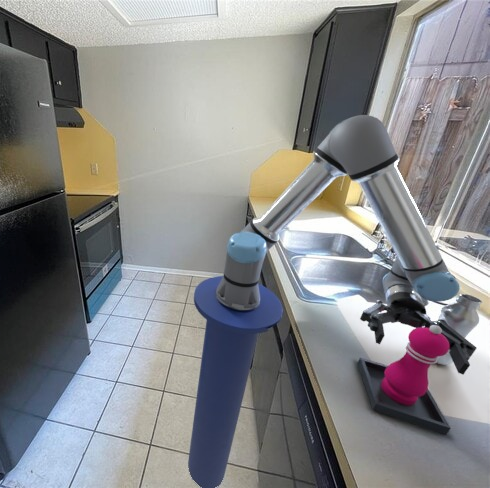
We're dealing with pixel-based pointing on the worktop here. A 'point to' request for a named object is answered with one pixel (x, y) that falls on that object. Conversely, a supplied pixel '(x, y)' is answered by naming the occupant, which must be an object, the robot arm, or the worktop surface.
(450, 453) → the worktop surface
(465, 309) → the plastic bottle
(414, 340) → the pepper mill
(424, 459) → the worktop surface
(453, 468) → the worktop surface
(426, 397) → the tray
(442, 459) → the worktop surface
